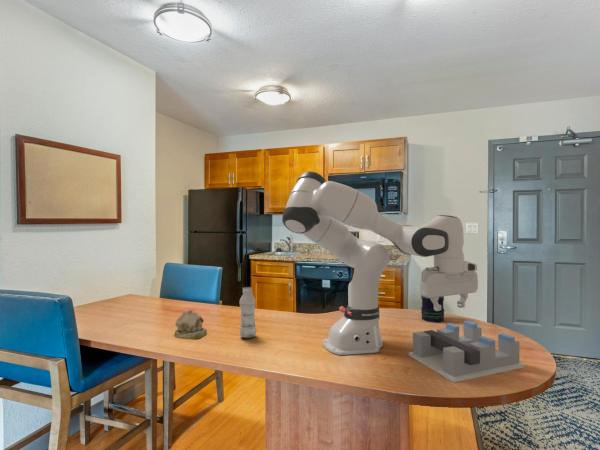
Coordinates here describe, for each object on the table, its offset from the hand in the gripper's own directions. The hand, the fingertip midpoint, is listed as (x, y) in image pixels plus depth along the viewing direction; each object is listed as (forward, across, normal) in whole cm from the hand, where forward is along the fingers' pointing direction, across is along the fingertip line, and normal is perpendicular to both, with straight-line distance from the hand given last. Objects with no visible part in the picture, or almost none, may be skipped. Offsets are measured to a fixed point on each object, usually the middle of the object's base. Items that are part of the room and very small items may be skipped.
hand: (449, 308), depth 104 cm
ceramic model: (+17, -79, +59) cm, 101 cm away
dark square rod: (+14, 0, 0) cm, 14 cm away
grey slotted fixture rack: (+18, +6, 0) cm, 19 cm away
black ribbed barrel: (+18, +28, +40) cm, 52 cm away
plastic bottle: (+17, -58, +47) cm, 76 cm away
